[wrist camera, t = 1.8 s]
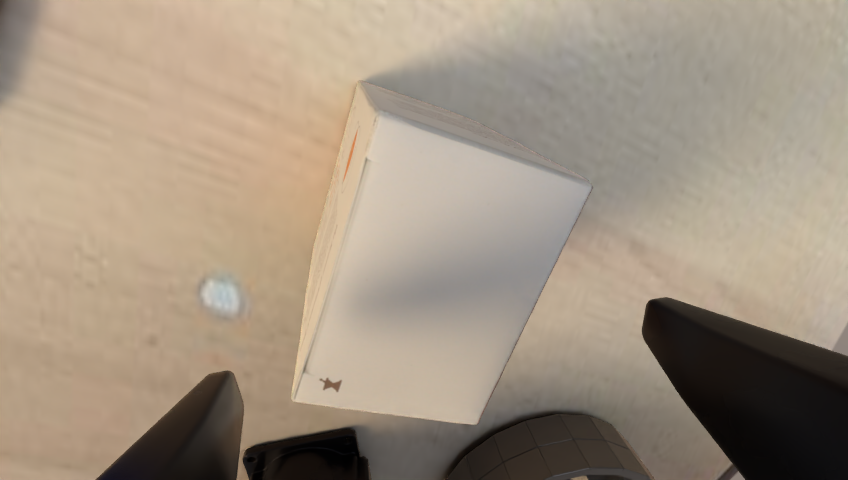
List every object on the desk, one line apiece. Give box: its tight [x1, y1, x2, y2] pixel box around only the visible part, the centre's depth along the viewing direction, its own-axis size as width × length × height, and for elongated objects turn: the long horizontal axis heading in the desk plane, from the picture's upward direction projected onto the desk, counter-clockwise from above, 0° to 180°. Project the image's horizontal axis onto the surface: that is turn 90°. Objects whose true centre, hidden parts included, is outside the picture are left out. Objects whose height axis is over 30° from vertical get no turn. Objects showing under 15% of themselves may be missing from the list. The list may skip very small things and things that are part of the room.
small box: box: [291, 81, 593, 425], centre depth 15 cm, size 8×6×10 cm
